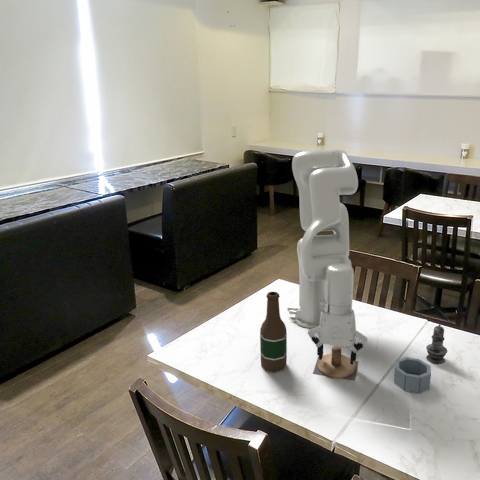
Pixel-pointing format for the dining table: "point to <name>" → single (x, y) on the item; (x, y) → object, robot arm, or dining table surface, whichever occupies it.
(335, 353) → the lid
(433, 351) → the ornate incense burner
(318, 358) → the mat
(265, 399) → the dining table surface
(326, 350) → the dining table surface
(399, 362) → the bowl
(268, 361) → the beer bottle
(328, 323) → the robot arm
